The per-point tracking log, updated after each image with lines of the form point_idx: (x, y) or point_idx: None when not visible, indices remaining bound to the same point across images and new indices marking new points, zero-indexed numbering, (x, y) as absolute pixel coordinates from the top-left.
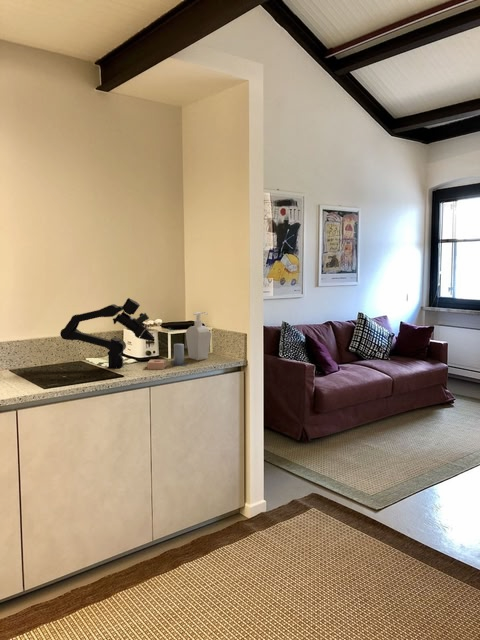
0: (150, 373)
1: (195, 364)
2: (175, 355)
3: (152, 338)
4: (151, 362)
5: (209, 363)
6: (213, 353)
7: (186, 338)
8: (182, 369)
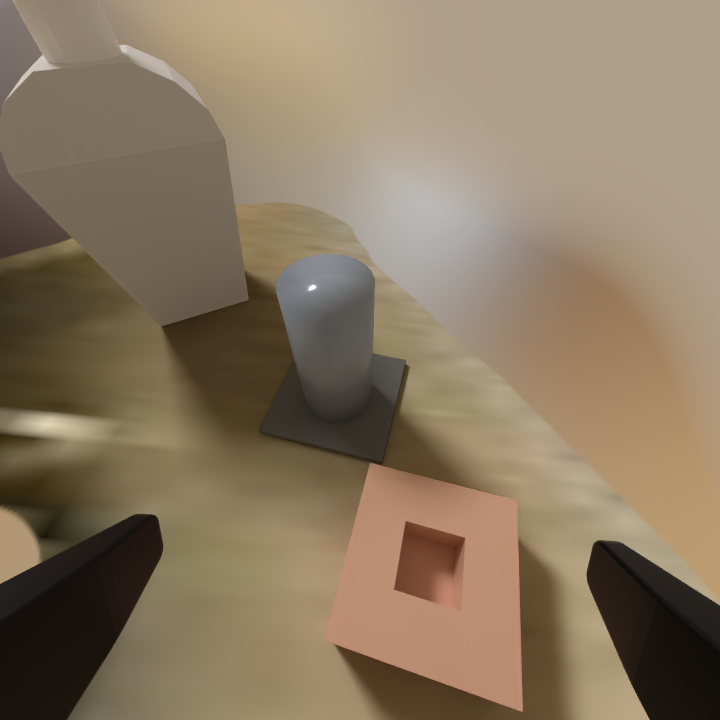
0: None
1: None
2: (358, 373)
3: (701, 614)
4: (506, 643)
5: None
6: None
7: (57, 221)
8: (472, 390)
